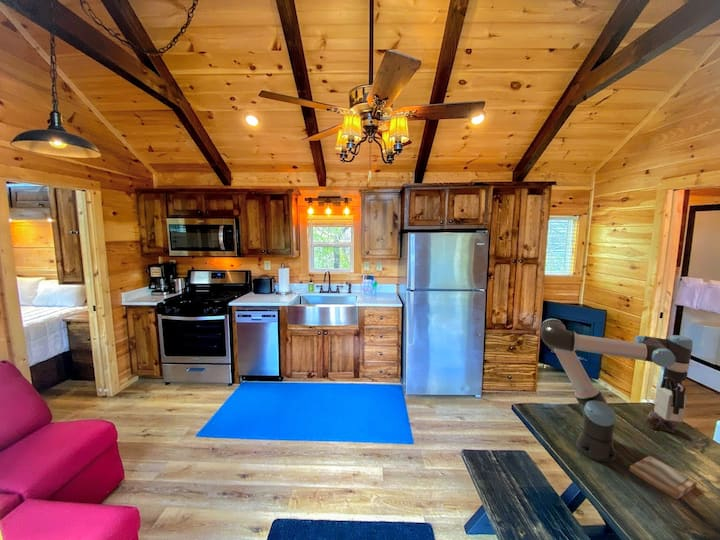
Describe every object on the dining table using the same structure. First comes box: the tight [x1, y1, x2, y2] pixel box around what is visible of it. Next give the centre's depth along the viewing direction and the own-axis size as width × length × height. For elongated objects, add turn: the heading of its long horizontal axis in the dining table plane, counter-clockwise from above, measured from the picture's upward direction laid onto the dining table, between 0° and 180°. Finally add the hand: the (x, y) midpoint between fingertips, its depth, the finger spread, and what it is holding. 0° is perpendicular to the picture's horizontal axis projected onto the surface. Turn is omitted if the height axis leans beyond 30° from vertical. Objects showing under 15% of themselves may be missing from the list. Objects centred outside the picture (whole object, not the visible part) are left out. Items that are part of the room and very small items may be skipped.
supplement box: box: [653, 387, 688, 423], centre depth 145 cm, size 7×7×13 cm
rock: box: [644, 409, 678, 434], centre depth 167 cm, size 12×9×10 cm
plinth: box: [629, 455, 698, 500], centre depth 134 cm, size 16×16×3 cm
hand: (668, 413), depth 145 cm, fingers closed on supplement box, 8 cm apart
